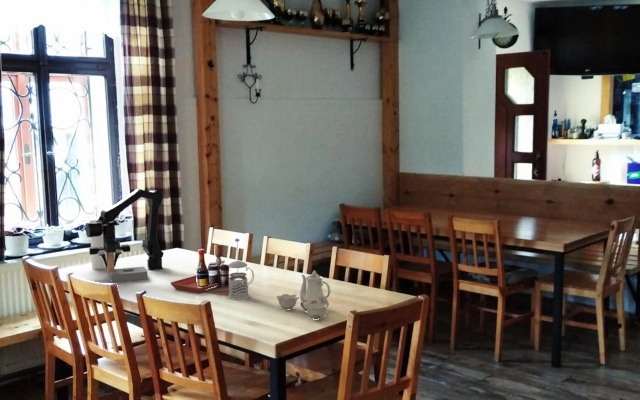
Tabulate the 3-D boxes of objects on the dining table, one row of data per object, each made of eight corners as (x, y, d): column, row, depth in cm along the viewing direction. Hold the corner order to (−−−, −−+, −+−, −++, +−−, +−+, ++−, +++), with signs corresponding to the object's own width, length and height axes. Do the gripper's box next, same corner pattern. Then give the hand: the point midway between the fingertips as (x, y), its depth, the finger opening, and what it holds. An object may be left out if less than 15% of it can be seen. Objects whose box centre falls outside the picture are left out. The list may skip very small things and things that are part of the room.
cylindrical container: (109, 266, 347) (106, 218, 344) (103, 269, 339) (101, 220, 337) (95, 265, 347) (93, 218, 344) (89, 268, 340) (87, 220, 337)
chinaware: (269, 314, 264) (265, 273, 261) (300, 301, 275) (296, 262, 272) (320, 329, 244) (316, 285, 241) (350, 314, 256) (347, 273, 253)
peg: (114, 272, 328) (113, 251, 327) (114, 273, 325) (114, 253, 324) (107, 272, 327) (106, 252, 326) (107, 274, 324) (106, 253, 323)
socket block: (144, 274, 326) (144, 266, 326) (147, 279, 315) (147, 271, 315) (110, 277, 320) (109, 269, 320) (112, 283, 309) (111, 274, 309)
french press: (224, 295, 286) (222, 237, 283) (250, 292, 290) (249, 235, 287) (229, 301, 277) (228, 241, 274) (257, 298, 281) (255, 239, 278)
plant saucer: (227, 286, 303) (227, 279, 302) (199, 295, 288) (199, 287, 287) (198, 281, 313) (197, 274, 312) (169, 290, 298) (169, 282, 297)
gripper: (89, 239, 313) (91, 272, 315) (131, 236, 320) (132, 268, 322) (88, 235, 323) (90, 267, 325) (128, 232, 330) (129, 264, 332)
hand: (110, 266), depth 326 cm, fingers closed on peg, 3 cm apart
